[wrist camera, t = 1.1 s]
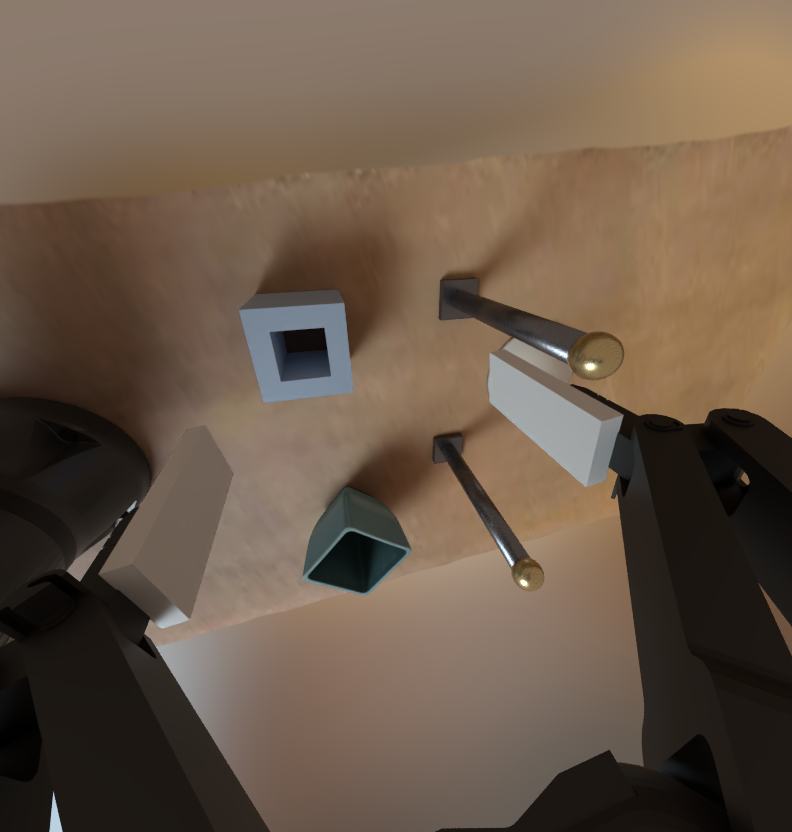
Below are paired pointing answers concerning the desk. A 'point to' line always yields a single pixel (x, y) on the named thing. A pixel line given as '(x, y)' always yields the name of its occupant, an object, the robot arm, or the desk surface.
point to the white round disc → (536, 360)
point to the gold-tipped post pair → (574, 347)
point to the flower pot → (355, 544)
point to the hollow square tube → (297, 370)
